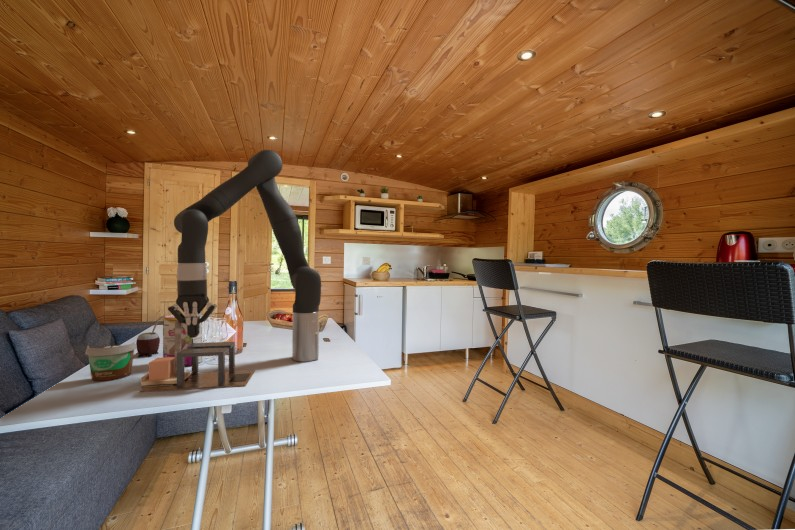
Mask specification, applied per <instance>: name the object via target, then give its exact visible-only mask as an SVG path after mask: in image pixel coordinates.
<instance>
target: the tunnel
mask: <svg viewBox="0 0 795 530" xmlns="http://www.w3.org/2000/svg"><path fill="white" fill-rule="evenodd" d="M235 346H236V342H235V341H217V342H216V341H214V342H202V343H193V344H191V345H190V346H188V347H187V349H183V350H182V351H180V352H179V353H177V384H159V385H144V387H142V388H141V389H140V390H139V393H149V392H151V393H152V392H165V391H167V392H168V391H185V390H202V389H217V388H218V389H219V388H220V389H221V388H222V389H223V388H235V387H238V388H239V387H240V388H241V387H246V386H247V385H248V383H249V382H250V380H251V379H252V377H253V375H254V374H255V373H256V370H255V369H253V370H252V369H251V370H236V369H235V368H236V367H235V365H236V363H235V361H236V347H235ZM227 353H228V371H226V354H227ZM198 356H202V357H211V356H212V357H217V371H214V372H213V371H211V372H199V363H198ZM184 357H192V366H191V372H190V376H189V377H187V378H186V379H185V380H184V372H185V365H184Z"/></svg>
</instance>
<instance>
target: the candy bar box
mask: <svg viewBox="0 0 795 530" xmlns="http://www.w3.org/2000/svg"><path fill="white" fill-rule="evenodd" d="M183 315H184V316H185V314H183ZM202 316H203V315H201V316H200V318H201V317H202ZM175 321H178V320H177V319H176V318H175V317H174V316H173V315H172V314H171V315H165V316H164V317H162V358H163V357H175ZM202 325H203V322H202V323H200V324H199V326H200V333H199V335H198V336H197V337H195V338H190V337H189V336H188V334H187V325H186V324H184V323H181V351H182V350H183V349H187V347H188V346H190V345H191V344H193V343H203V341H202V340H203V335H202V334H203V333H202V332H203V331H202V330H203V326H202ZM202 360H203V356H198V364H201V363H202ZM185 366H189V367H192V357H184V367H185Z"/></svg>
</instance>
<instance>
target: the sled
mask: <svg viewBox="0 0 795 530" xmlns="http://www.w3.org/2000/svg"><path fill="white" fill-rule="evenodd" d="M180 351H181V323H180V322H179V321H175V375H174V376H172V377H171V378H170V379H165V380H149V372H147V373H146V374H144V375H142V376H141V377H140V386H146V385H159V384H177V353H179V352H180ZM190 373H191V371H184V380H185V379H186V378H187V377H189V376H190Z"/></svg>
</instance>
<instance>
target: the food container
mask: <svg viewBox="0 0 795 530" xmlns="http://www.w3.org/2000/svg"><path fill="white" fill-rule="evenodd" d="M85 349H86V350H85V353H84V354H85V356H88V363H89V370H90V378H91V381H93V382H97V383H101V382H102V383H103V382H104V383H105V382H113V381H117V380H121V379H124V378H126V377H129V376H131V374H132V368H133V361H134V355H135V354H134V353H135V350H137V346H136V342H135V341H134V342H131V343H129V344H126V345H125V344H124V345H118V344H117V345H113V344H112V345H111V344H110V345H107V346H102V347H101V346H100V347H93V348H92V347H90V346H89V345H87V347H86V348H85Z"/></svg>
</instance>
